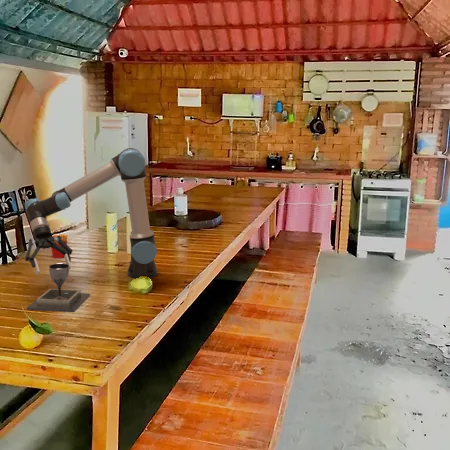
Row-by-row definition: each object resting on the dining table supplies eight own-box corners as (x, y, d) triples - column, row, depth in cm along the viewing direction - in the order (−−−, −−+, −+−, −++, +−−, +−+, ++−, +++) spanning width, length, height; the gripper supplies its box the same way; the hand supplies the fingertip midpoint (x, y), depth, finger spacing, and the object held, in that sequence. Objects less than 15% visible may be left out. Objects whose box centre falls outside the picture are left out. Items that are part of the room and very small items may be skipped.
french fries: (50, 258, 289) (49, 235, 286) (52, 256, 293) (51, 234, 290) (67, 258, 290) (66, 235, 288) (68, 256, 295) (68, 233, 292)
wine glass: (49, 303, 218) (48, 269, 214) (50, 296, 225) (49, 263, 222) (69, 302, 220) (68, 268, 216) (69, 295, 227) (69, 262, 224)
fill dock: (89, 295, 231) (89, 288, 230) (74, 311, 211) (73, 303, 211) (46, 293, 232) (46, 286, 231) (26, 309, 213) (26, 301, 212)
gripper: (66, 231, 240) (80, 270, 232) (10, 238, 225) (23, 279, 217) (70, 222, 235) (84, 261, 226) (13, 228, 220) (26, 270, 212)
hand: (54, 270), depth 222 cm, fingers open, 13 cm apart
